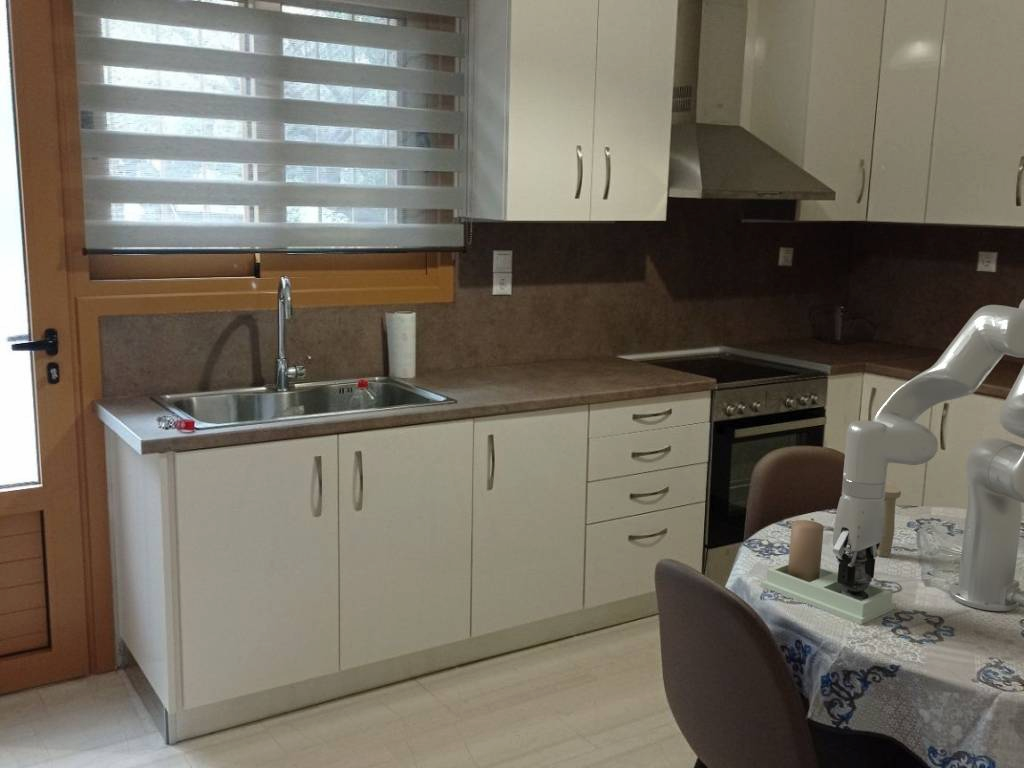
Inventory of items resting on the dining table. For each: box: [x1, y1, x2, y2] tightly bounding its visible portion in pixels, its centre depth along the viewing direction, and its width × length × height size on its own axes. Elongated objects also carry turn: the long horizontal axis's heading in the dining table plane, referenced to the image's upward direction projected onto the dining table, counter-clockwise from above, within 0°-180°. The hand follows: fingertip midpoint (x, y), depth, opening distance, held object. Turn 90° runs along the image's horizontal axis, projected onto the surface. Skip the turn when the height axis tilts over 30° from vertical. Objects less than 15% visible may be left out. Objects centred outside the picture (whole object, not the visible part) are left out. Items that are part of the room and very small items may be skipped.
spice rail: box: [760, 519, 898, 626], centre depth 191 cm, size 22×12×13 cm, turn 39°
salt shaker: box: [839, 545, 873, 600], centre depth 186 cm, size 6×6×12 cm
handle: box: [877, 483, 902, 558], centre depth 214 cm, size 5×6×15 cm
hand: (855, 579), depth 187 cm, fingers closed on salt shaker, 5 cm apart
